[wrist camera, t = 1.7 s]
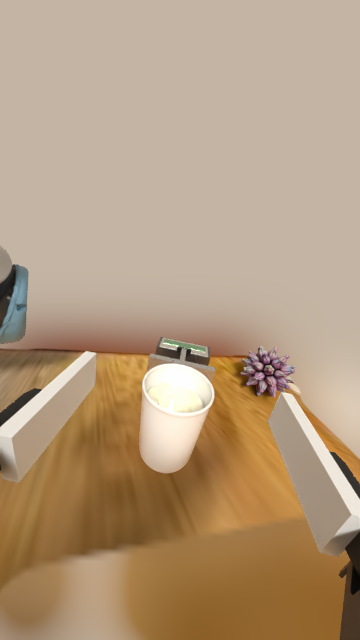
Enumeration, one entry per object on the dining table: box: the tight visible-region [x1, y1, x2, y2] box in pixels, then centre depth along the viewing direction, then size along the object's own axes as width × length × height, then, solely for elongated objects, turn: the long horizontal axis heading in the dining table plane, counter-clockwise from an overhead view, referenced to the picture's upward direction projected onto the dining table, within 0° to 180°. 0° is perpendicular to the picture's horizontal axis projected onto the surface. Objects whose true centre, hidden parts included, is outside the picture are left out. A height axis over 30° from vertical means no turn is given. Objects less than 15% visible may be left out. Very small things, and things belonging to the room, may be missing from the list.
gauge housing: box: [156, 337, 210, 366], centre depth 47 cm, size 12×5×8 cm, turn 84°
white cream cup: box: [139, 364, 214, 473], centre depth 29 cm, size 10×10×12 cm
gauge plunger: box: [147, 346, 215, 383], centre depth 40 cm, size 12×7×9 cm, turn 84°
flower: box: [240, 346, 295, 398], centre depth 46 cm, size 12×12×12 cm
